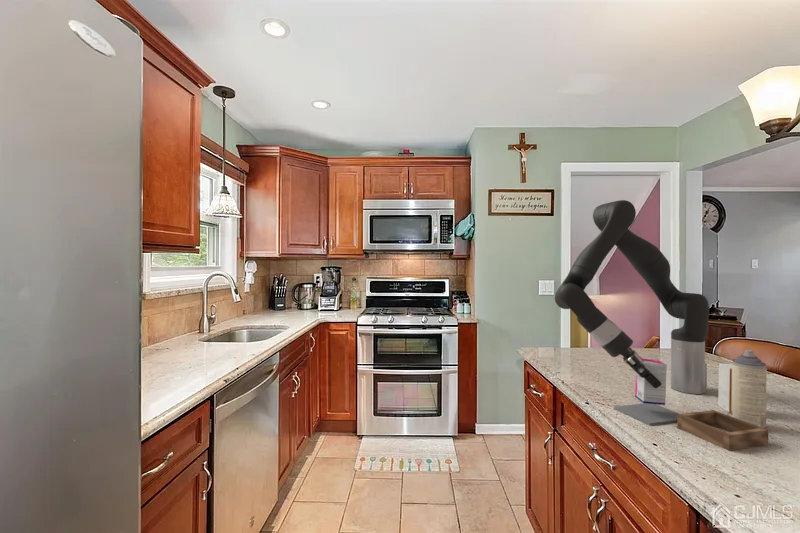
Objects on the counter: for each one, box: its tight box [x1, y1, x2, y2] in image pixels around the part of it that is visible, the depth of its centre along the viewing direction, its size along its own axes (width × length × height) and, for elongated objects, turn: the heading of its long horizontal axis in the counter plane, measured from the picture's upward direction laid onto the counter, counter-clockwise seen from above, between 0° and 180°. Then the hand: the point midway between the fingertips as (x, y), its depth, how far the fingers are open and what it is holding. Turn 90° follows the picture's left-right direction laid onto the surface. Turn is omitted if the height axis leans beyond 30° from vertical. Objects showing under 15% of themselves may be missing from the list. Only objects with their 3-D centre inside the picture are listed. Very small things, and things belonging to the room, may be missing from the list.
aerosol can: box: [730, 349, 768, 429], centre depth 100 cm, size 7×7×20 cm
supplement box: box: [634, 358, 668, 406], centre depth 107 cm, size 6×6×12 cm
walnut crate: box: [676, 409, 769, 451], centre depth 93 cm, size 12×12×4 cm
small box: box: [717, 363, 732, 414], centre depth 110 cm, size 8×6×13 cm
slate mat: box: [613, 403, 680, 426], centre depth 107 cm, size 14×12×1 cm
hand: (656, 382), depth 106 cm, fingers closed on supplement box, 7 cm apart
